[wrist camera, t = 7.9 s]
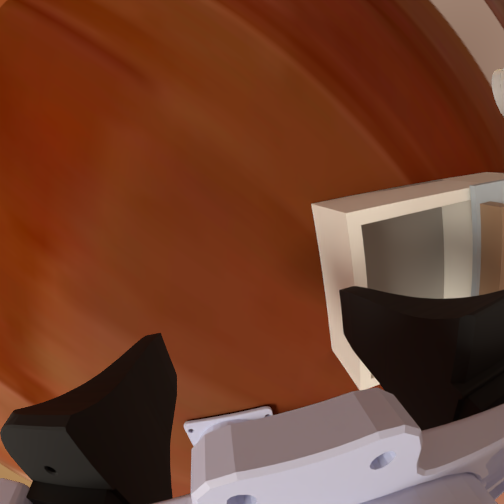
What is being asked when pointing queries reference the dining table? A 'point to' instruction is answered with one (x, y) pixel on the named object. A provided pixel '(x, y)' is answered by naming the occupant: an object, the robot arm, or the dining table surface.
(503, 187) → the lid
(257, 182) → the dining table surface
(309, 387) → the dining table surface
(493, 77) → the cup
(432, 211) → the carton
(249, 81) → the dining table surface
